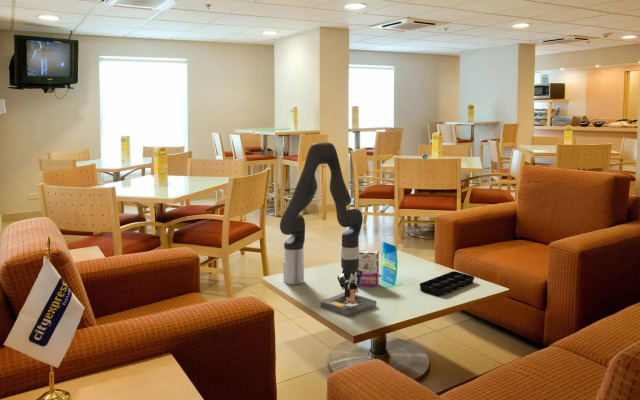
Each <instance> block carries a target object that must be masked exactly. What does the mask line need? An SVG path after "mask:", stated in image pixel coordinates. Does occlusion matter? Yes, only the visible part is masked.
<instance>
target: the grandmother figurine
mask: <svg viewBox="0 0 640 400" xmlns="http://www.w3.org/2000/svg"><path fill="white" fill-rule="evenodd" d="M353 281H354V275H352V280H351V284H350V288H349V289H350V297H346V301H345V303H346V305H348V304H351V305H357V302H356V301H355V294H356V293H357V294H359V292H360V291H359V288H358V287H359V286H357V285H356V284H355V283H353ZM346 286H347V285H346ZM354 288H355V289H356V293H355V290H354ZM341 290H344V291H345V289H344V288H342V287H341Z"/></svg>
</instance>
